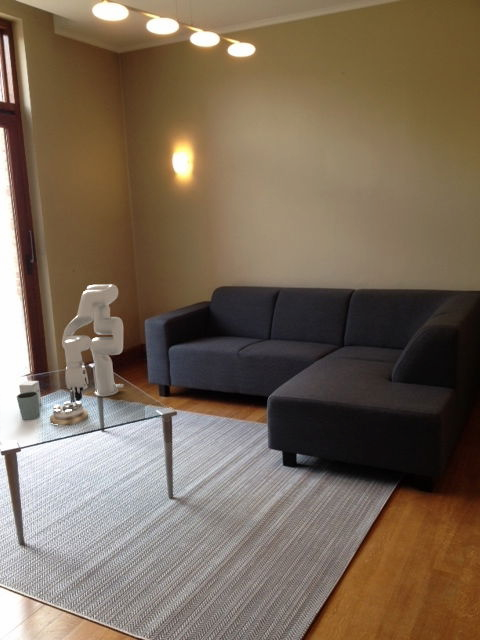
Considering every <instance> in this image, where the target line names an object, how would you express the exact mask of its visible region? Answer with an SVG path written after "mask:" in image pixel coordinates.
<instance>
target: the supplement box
mask: <svg viewBox="0 0 480 640" xmlns="http://www.w3.org/2000/svg"><path fill="white" fill-rule="evenodd" d="M39 382H40V381H39V380H26V381H24V382H23V383H21V384H19V385H18V386H19V392H20V393H19V394H21V393H25V392H37V393H38V400H39V405H41V404H42V396H41V389H40V383H39Z"/></svg>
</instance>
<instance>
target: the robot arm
mask: <svg viewBox="0 0 480 640" xmlns="http://www.w3.org/2000/svg"><path fill="white" fill-rule="evenodd" d="M118 296H119V288H118V287H117V285H115V284H112V283H108V284H92V285H88V286H87V287H86V288H85V291H83V293H81V297H80V301H79V305H78V309H77V314H76V316H75V317H74V318H73V319H72V320H71V321H70V322H69V323H68V324H67V325H66V327H65V328H64V331H63V334H62V340H61V345H62V348H63V350H64V356H65V363H66V367H65V372H64V373H65V374H64V375H65V385H66V388H67V389H68V390H72V391H73V393H74V397H75V402H78V401H79V402H80V401H82V399H83V394H82V392H83V390H86V389H88V384H89V378H88V373H87V369H86V367H85V362H84V361H83V357H82V352H84V351H87V350H89V349H90V351H91V354H92V358H93V365H94V373H95V374H94V375H95V381H96V390H97V392H96V390H95V391H94V396H96V397H101V398H102V397H109V396H113V395H116V394H117V393H118V392H119V389H123V388H124V384H123V383H115V378H114V369H113V361H112V358H111V357H110V356H114V355H115V356H116V355H120V354H121V353H122V352H123V351H124V350H123V349H124V323H123V319H121V318H120V316H119V317H118V316H111V307H110V306H109V305H110V304H112V303H113V302H115V300H116V299H117V298H118ZM92 322H93V331H94V334H96V335H101V336H98V337H94V338H92V339H91V337H90V336H88V335H84V334H83V335H82V334H81V335H75V332H76V331H78V329H80V328H82V327H84V326H87V325H89V324H91V323H92ZM102 335H103V336H102ZM105 335H110V336H105ZM111 335H112V336H111Z"/></svg>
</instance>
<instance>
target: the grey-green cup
mask: <svg viewBox="0 0 480 640" xmlns="http://www.w3.org/2000/svg"><path fill="white" fill-rule="evenodd" d="M16 400H17V403H18V404H17V405H18V409H19V413H20V417H21V420H22V421H25V420H29V421H33V420H36V419H39V418H40V417H41V415H40V414H41V412H40V404H39V400H38V393H37V392H25V393H21V394H20V393H19V394H18V395H17V396H16Z"/></svg>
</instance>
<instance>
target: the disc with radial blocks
mask: <svg viewBox="0 0 480 640" xmlns="http://www.w3.org/2000/svg"><path fill="white" fill-rule="evenodd" d="M69 397H70V401H64V405H60V404H55V405H54V406H53V410H52V411H53V413H52V414H54V418H55V419H58V420H68V419H73V418H76V417H79V416H81V415H82V414H83V413H84V412H83V409H84V406H83V402H82V401H80V400H79V401H78V400H77V401H76V398H75V393H73V391H72V390H71V389H69Z"/></svg>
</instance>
